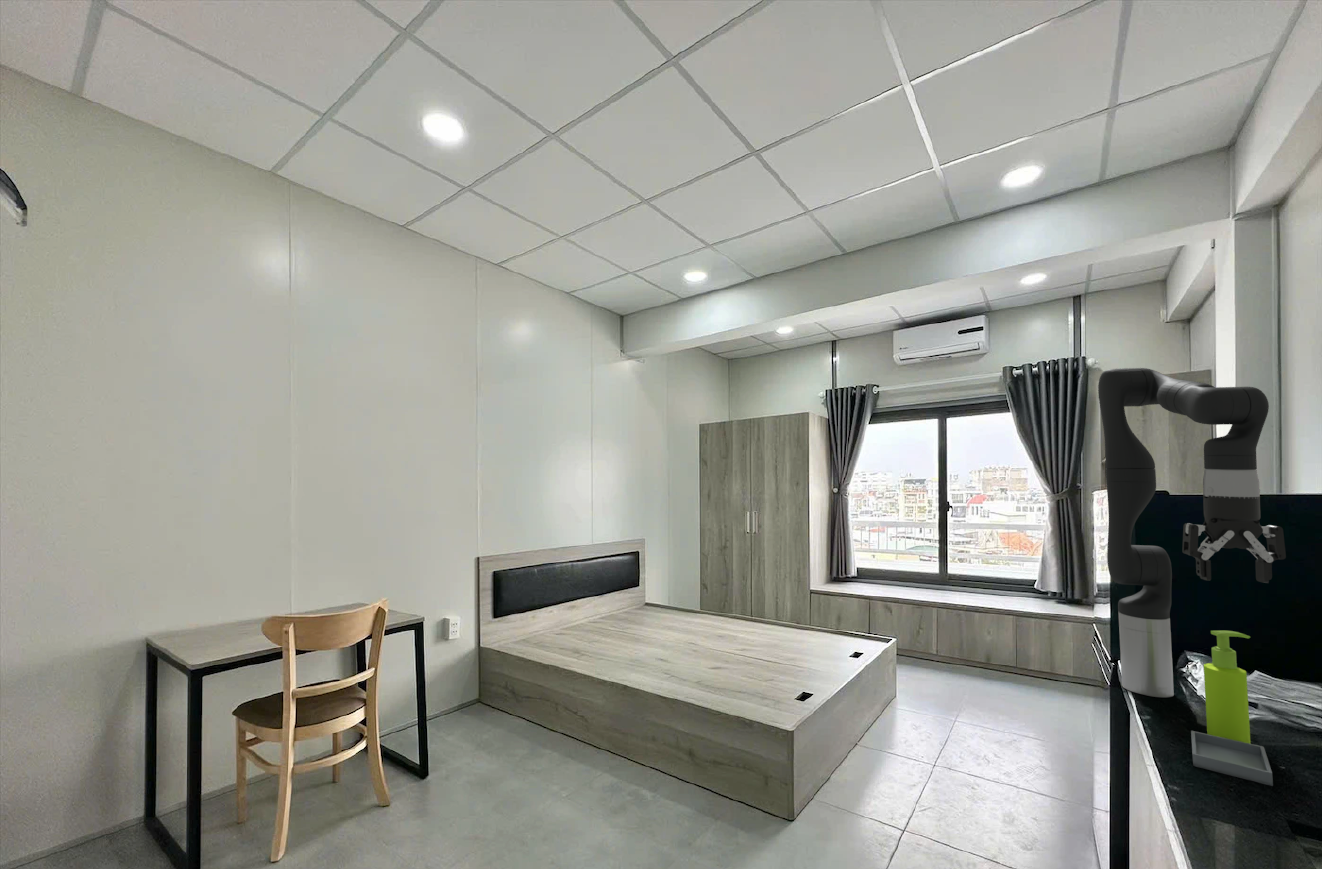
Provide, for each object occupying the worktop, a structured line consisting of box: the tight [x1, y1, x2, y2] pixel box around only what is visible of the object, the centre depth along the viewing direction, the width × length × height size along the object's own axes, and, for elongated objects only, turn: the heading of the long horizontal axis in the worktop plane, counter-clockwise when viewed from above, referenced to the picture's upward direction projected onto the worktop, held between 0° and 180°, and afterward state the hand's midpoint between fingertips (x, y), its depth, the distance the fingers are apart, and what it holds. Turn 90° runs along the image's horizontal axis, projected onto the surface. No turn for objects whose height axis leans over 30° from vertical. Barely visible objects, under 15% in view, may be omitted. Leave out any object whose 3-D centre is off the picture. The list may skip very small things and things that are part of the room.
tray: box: [1190, 730, 1274, 787], centre depth 101 cm, size 12×10×2 cm
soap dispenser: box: [1203, 629, 1252, 744], centre depth 110 cm, size 6×7×20 cm
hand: (1233, 580), depth 107 cm, fingers open, 8 cm apart
